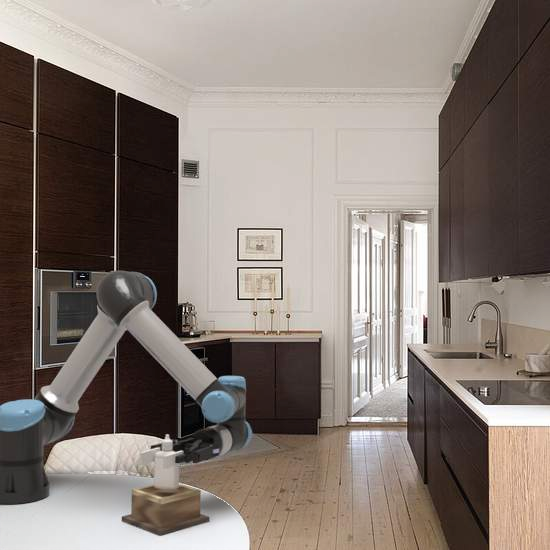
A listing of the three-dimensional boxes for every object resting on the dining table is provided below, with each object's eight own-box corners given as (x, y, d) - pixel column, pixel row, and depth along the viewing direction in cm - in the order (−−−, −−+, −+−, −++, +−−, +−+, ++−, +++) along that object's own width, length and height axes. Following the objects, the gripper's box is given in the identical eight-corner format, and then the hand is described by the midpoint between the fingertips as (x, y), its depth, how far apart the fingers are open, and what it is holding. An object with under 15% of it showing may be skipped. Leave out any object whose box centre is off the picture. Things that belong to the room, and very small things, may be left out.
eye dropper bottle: (164, 492, 154) (165, 437, 155) (151, 487, 158) (152, 433, 159) (181, 489, 157) (182, 435, 157) (168, 484, 161) (169, 431, 162)
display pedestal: (121, 521, 157) (122, 489, 157) (170, 508, 167) (171, 478, 168) (159, 535, 147) (160, 502, 148) (209, 521, 158) (210, 490, 158)
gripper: (242, 462, 169) (187, 483, 149) (179, 453, 178) (119, 472, 158) (243, 431, 170) (188, 448, 149) (179, 424, 178) (119, 439, 158)
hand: (152, 460), depth 153 cm, fingers open, 6 cm apart
